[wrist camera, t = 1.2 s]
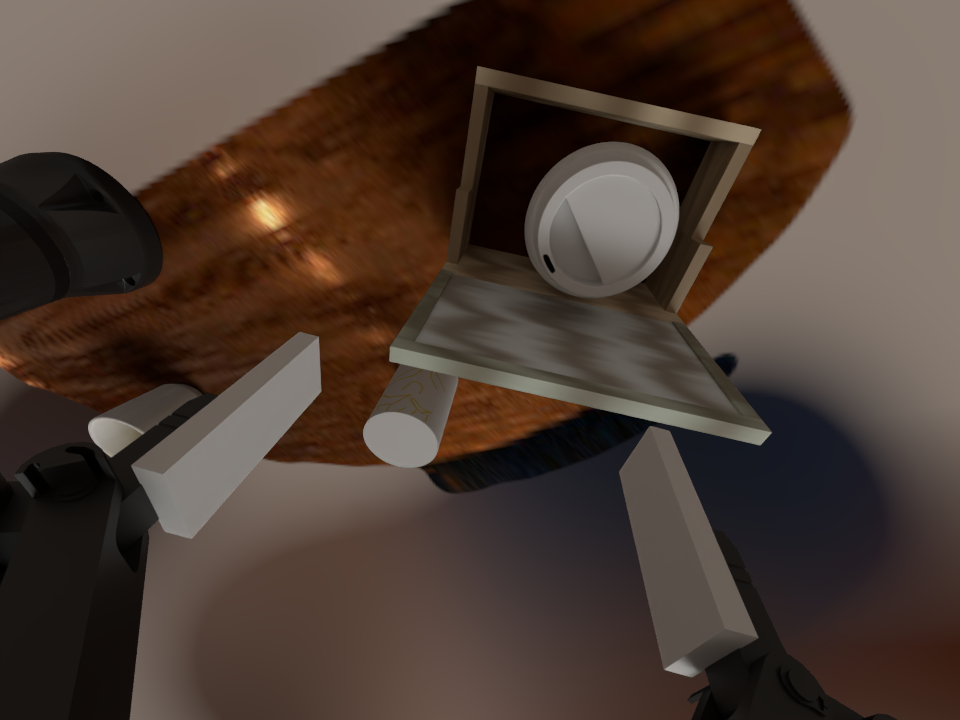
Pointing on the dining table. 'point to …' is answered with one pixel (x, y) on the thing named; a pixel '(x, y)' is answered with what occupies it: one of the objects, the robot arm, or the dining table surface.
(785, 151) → the dining table surface
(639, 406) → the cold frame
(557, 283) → the coffee cup
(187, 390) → the mug
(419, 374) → the white cylinder
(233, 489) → the robot arm
